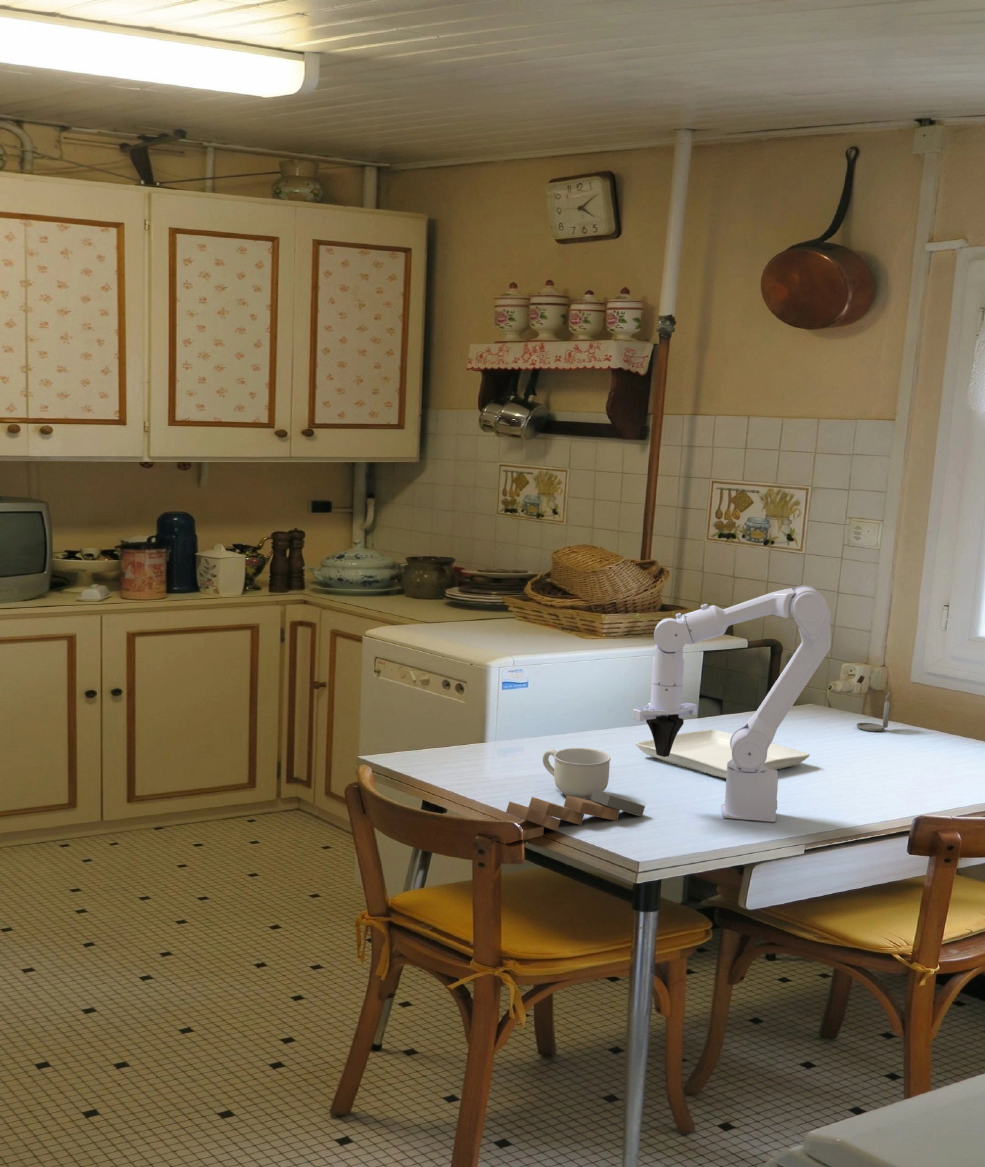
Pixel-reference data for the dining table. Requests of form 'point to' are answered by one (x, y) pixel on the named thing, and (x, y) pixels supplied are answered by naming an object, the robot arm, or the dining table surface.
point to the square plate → (716, 752)
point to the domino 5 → (617, 802)
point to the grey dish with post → (876, 726)
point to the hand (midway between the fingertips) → (662, 755)
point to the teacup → (579, 771)
